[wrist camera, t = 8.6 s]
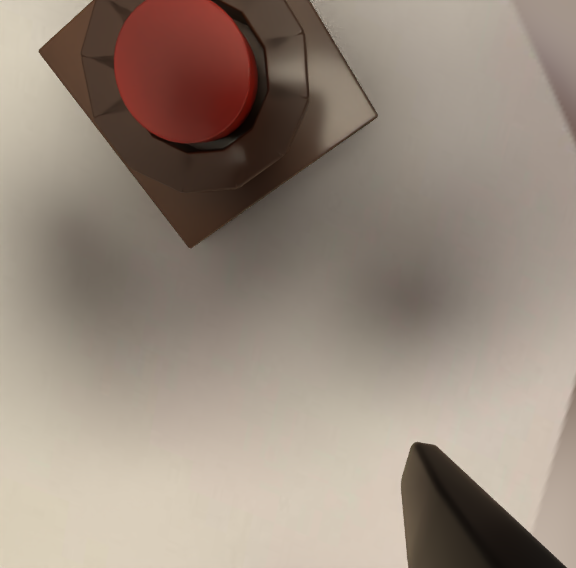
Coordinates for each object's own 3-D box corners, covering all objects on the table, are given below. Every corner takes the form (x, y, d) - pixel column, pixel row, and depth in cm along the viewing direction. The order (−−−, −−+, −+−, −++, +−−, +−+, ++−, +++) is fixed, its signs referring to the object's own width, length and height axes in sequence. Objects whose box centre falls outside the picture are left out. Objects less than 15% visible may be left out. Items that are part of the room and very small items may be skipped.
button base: (241, -101, 15) (220, -170, 11) (372, 117, 16) (387, 113, 13) (63, 58, 16) (-1, 39, 13) (200, 239, 18) (175, 263, 15)
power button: (208, -21, 13) (192, -44, 11) (282, 94, 13) (278, 89, 12) (112, 62, 13) (84, 52, 12) (188, 165, 14) (171, 170, 13)
